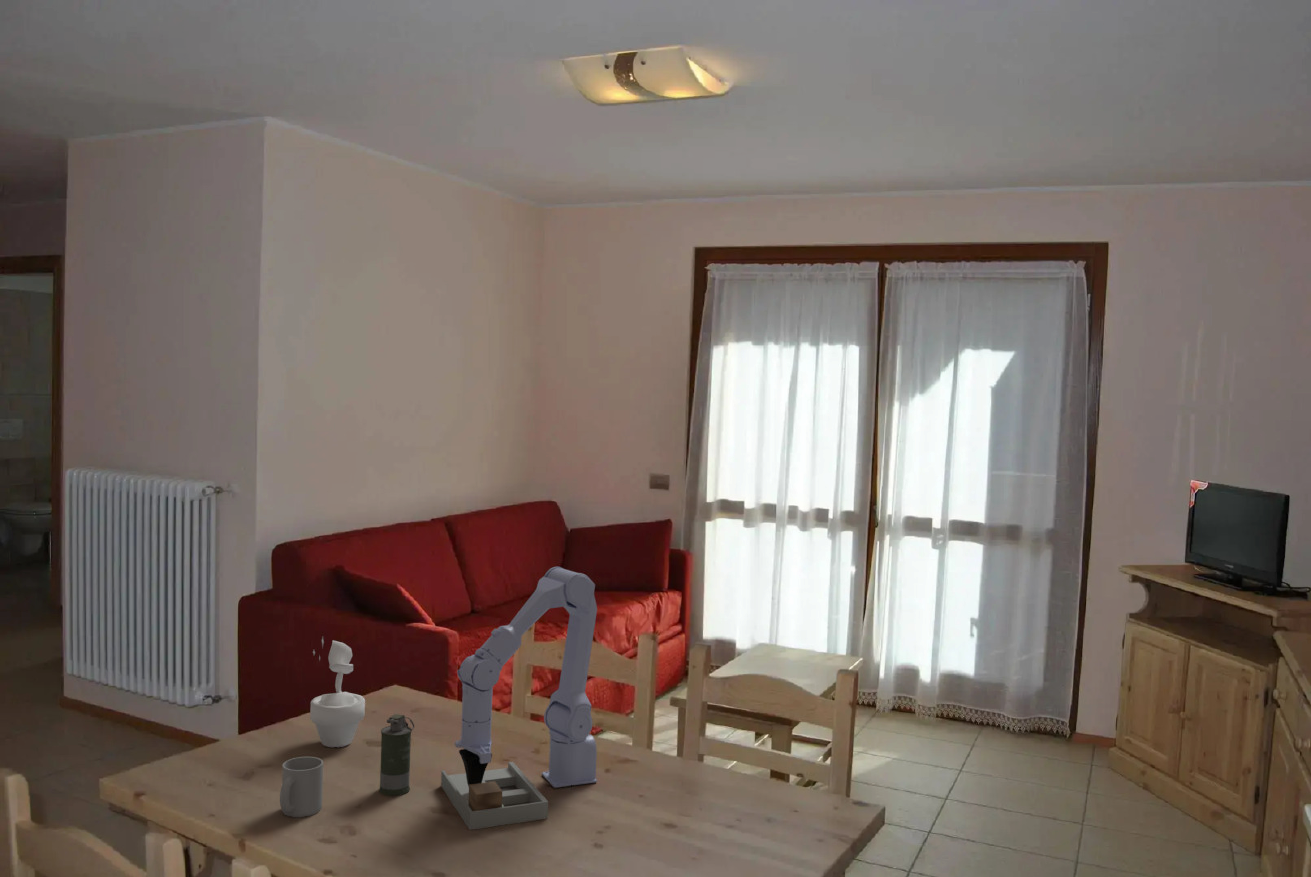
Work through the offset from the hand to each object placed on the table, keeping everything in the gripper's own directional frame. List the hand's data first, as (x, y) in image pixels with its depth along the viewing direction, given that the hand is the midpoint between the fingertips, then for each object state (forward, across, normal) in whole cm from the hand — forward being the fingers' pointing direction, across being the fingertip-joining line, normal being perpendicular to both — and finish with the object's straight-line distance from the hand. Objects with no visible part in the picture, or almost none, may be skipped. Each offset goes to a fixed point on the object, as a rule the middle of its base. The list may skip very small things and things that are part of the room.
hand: (474, 787), depth 199 cm
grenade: (+3, -11, -13) cm, 17 cm away
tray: (+3, +1, +4) cm, 5 cm away
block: (+1, +8, 0) cm, 8 cm away
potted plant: (+3, -41, -20) cm, 46 cm away
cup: (+3, -6, -32) cm, 33 cm away
